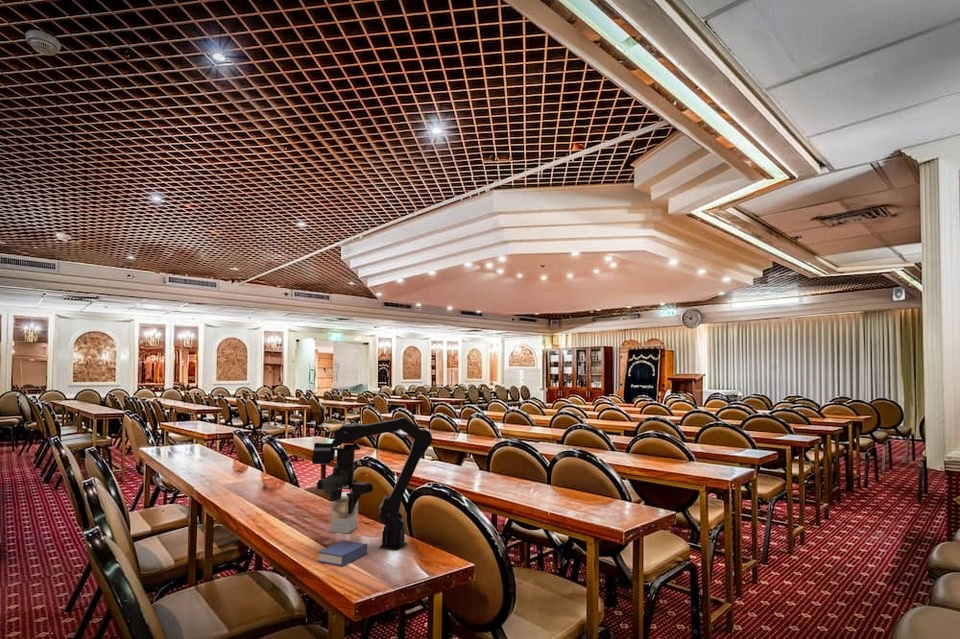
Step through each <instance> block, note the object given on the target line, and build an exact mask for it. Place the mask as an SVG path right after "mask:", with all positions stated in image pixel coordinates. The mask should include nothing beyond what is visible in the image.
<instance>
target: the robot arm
mask: <svg viewBox="0 0 960 639" xmlns="http://www.w3.org/2000/svg"><path fill="white" fill-rule="evenodd" d="M400 430H401V431H403V432H404V433H405V434H407V435H408V437H411V438H412V441H411V446H410V451H409V453H408V456H407V459H406V461H405V463H404V465H403V467H402V469H401V471H400V474H399V475H398V477H397V480H396V482H395V485H394V487H393V488H392V491H391V492H390V494H389V495H387V494H384V495H383V500H382V502H381V503H380V504H379V506H378V512H379V519H380V521H381V523H382V524H384V526H383V530H382V534H381V536H382V538H381V544H380V548H383V549H389V550H395V551H398V550H400V549H402V548H403V547H405V546H407V545H408V542H405V541H406V540H405V538H406V537H405V535H406V526H405V525H404V524H405V522H404V516H403V515H402V514H401V513H400V509H401V505H402V500H403V497H404V495H405V492H406V490H407V488H408V486H409V483H410V482H411V479H412V477H413V475H414V472H415V470H416V468H417V466H418V464H419V461H420V459H422V457H423V455H424V454H425V452H427V450H428V449H429V447H430V445H431V444H432V442H433V435H432V433H431V432H430V431H429V430H428V429H426V428H420V427H419V426H417V425H415V424H414V423H413V422H411V421H410V420H409V419H408V418H406V416H405V417H404V416H401V417H398V418H395V419H394V418H393V419H389V420H384V421H377V422H370V423H367V424H366V423H365V424H364V423H361V424H360V423H349V424H348V423H347V424H343V425H342V426H340V427H339V429H338V430H337V432H336V437H335V439H333V440H332V442H329V443H328V442H323V443H322V442H315V443H313V444H314V446H313V451H312V457H311V461H312V462H311V463H312V465H331V464H332V462H334V461H335V459H336V464H335V465H336V466H335V467H333V469H332V473H331V474H329V475H327V476H326V477H324V478H321V479H318V481H317V482H316V490H323V491H324V493H325V494H326V493H327V495H328V496H329V497H330V500H331V504H332V503H333V501H335V500H339V499H341V495H342V492H343V489H344V490H350V493H348V494H346V495H347V496H348V499H349V500H348V513H349V514H352V512H353V510H354V507H355V505H356V503H357V501H358V502H359V499H360V498H361V497H362V495H364V494H368V493H371V492H374V491H373V489H374V486H373V483H372V482H369V481H359V482H357V479H356V478H354V477H355V471H356V470H357V469H358V468H357V465H355V456H356V455H355V453H356V451H360V450H361V446H360V445H359V444H358V443H357V441H358V440H360V439H362V438H365V437H369V436H373V435H379V434H385V433H391V432H396V431H400ZM353 442H354V443H353ZM350 443H351V444H350ZM342 444H344V445H343V446H341V445H342ZM339 446H341V447H339Z"/></svg>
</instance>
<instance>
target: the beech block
mask: <svg viewBox="0 0 960 639" xmlns="http://www.w3.org/2000/svg"><path fill="white" fill-rule="evenodd" d="M348 500H349V499H345V498H342V499H339V500H335V501H333V503H332V502H331V507H332V518H339V519H347V518H349V517H352V516H354V513H355V507H354V510H353V512H352V514H349V513H348Z"/></svg>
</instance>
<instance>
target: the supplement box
mask: <svg viewBox="0 0 960 639" xmlns="http://www.w3.org/2000/svg"><path fill="white" fill-rule="evenodd" d="M348 493H350V492H349V491H342V495H341V499H342V498H345V499H348V496H347V495H346V494H348ZM330 511H331V512H330V528H329V530H330V533H336V534H337V533H339V534H349V533H351V532H352V531H354V530H355V529H357V528H358V520H359V519H358V515H359V500H358V501H357V503H356V505H355V513H354V516H352V517H349V518H347V519H339V518H332V506H331V510H330Z"/></svg>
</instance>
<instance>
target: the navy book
mask: <svg viewBox="0 0 960 639" xmlns="http://www.w3.org/2000/svg"><path fill="white" fill-rule="evenodd" d="M367 552H368V544H367V543H362V542H356V541H351V540H344V539H343V540H341V541H339V542H336V543H334V544H332V545H329V546H327V547H325V548H323V549H321V550H318V551H317V553H318V560H317V563H321V564H326V565H332V566H336V567H337V566H338V567H344V565H345V566H346V564H347V565H349V564H350V563H352V562H354V561H356V560H358V559H361V558H362V557H364V556H366V555H367V554H368V553H367Z"/></svg>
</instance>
